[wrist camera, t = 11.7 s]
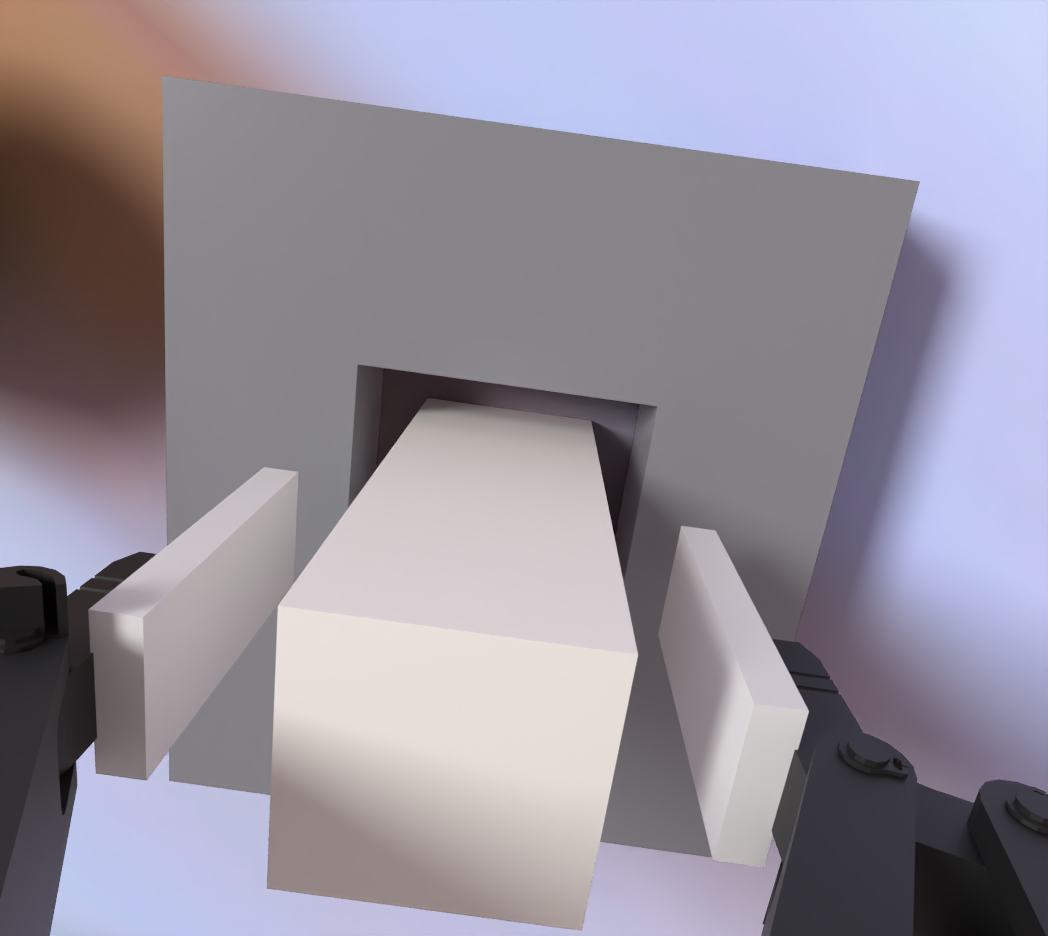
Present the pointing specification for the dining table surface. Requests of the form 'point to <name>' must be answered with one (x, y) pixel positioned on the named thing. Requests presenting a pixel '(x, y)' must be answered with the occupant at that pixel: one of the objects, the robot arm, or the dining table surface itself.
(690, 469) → the socket
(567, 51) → the dining table surface
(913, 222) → the dining table surface
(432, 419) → the plug
